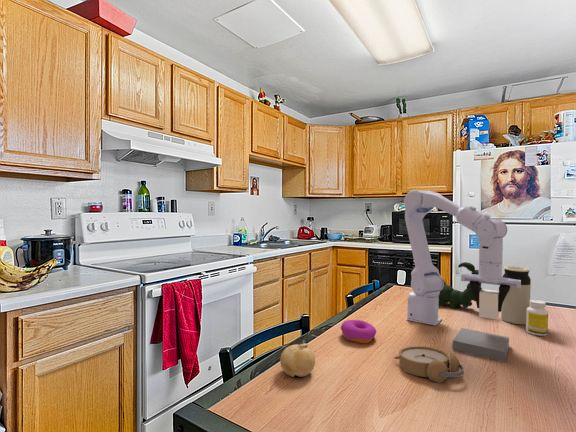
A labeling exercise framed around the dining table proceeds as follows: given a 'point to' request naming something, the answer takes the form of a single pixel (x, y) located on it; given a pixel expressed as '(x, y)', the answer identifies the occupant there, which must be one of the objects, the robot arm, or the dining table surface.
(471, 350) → the base block
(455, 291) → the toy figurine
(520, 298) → the travel mug
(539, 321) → the supplement bottle
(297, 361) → the onion
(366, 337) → the donut
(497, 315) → the ivory block
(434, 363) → the alarm clock
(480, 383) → the dining table surface
